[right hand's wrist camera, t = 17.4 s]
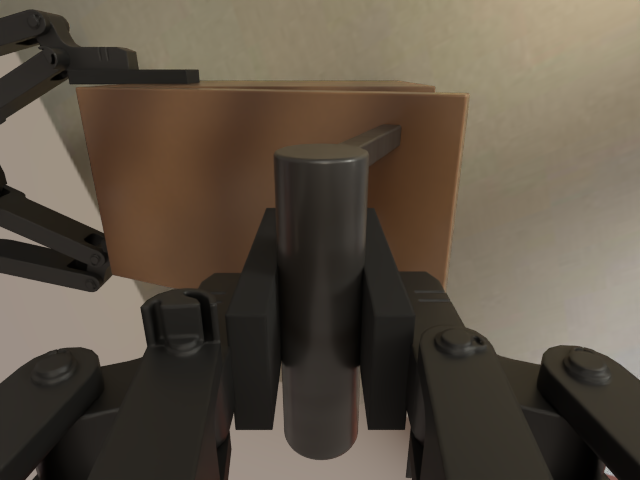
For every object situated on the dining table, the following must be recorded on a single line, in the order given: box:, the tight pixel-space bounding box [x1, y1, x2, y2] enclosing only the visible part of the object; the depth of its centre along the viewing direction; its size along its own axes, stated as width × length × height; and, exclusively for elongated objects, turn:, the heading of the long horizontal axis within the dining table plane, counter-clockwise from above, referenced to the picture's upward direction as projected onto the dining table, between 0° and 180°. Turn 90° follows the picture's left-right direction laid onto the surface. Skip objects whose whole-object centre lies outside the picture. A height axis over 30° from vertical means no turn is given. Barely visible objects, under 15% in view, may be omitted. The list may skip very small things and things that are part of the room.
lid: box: [76, 86, 470, 460], centre depth 16 cm, size 17×9×9 cm, turn 90°
